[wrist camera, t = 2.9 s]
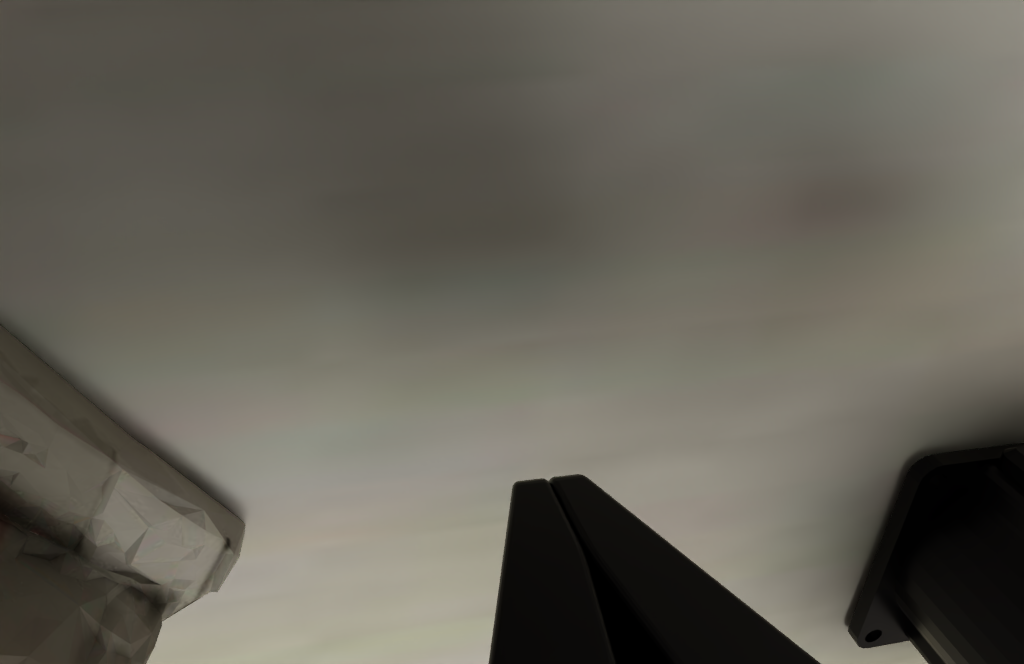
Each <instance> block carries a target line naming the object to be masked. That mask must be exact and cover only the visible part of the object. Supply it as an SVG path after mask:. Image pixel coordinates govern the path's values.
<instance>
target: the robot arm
mask: <svg viewBox="0 0 1024 664" xmlns="http://www.w3.org/2000/svg"><path fill="white" fill-rule="evenodd" d="M848 632H849V634H850V635H851V636H852V638H853V639H854V641H855V642H856V643H857V645H858V646H859V647H861V648H871V647H876V646H882V645H887V644H893V643H898V642H903V641H909V640H910V641H911V642H912V644H913V645H914V646H915V647H916V649H917V650H918V651H919V652H920V654H921V655H922V656H923V657H924V659H925V660H926V661H927V662H928V664H1024V443H1019V444H1011V445H1003V446H995V447H988V448H980V449H972V450H964V451H956V452H948V453H940V454H933V455H929V456H925V457H923V458H922V459H920V460H918V461H917V462H916V463H915V464H914V465H913V466H912V467H911V468H910V470H909V472H908V474H907V476H906V479H905V482H904V484H903V487H902V489H901V492H900V495H899V497H898V500H897V502H896V505H895V508H894V510H893V513H892V515H891V518H890V521H889V523H888V526H887V528H886V531H885V534H884V536H883V539H882V541H881V544H880V547H879V549H878V552H877V554H876V557H875V560H874V562H873V565H872V567H871V570H870V573H869V575H868V578H867V580H866V583H865V586H864V588H863V591H862V593H861V596H860V599H859V601H858V604H857V606H856V609H855V612H854V614H853V617H852V619H851V622H850V625H849V628H848ZM489 664H820V663H819V662H818V661H817V660H815V659H814V658H813V657H812V656H810V655H809V654H808V653H807V652H805V651H804V650H803V649H802V648H800V647H799V646H798V645H797V644H795V643H794V642H793V641H792V640H790V639H789V638H788V637H787V636H785V635H784V634H783V633H782V632H780V631H779V630H778V629H777V628H775V627H774V626H773V625H771V624H770V623H769V622H768V621H766V620H765V619H764V618H763V617H761V616H760V615H759V614H758V613H756V612H755V611H754V610H753V609H751V608H750V607H749V606H748V605H746V604H745V603H744V602H743V601H741V600H740V599H739V598H738V597H736V596H735V595H734V594H733V593H731V592H730V591H729V590H728V589H726V588H725V587H724V586H723V585H721V584H720V583H719V582H718V581H716V580H715V579H714V578H713V577H711V576H710V575H709V574H708V573H706V572H705V571H704V570H703V569H701V568H700V567H699V566H697V565H696V564H695V563H694V562H692V561H691V560H690V559H689V558H687V557H686V556H685V555H684V554H682V553H681V552H680V551H679V550H677V549H676V548H675V547H674V546H672V545H671V544H670V543H669V542H667V541H666V540H665V539H664V538H662V537H661V536H660V535H659V534H657V533H656V532H655V531H654V530H652V529H651V528H650V527H649V526H647V525H646V524H645V523H644V522H642V521H641V520H640V519H639V518H637V517H636V516H635V515H634V514H632V513H631V512H630V511H629V510H627V509H626V508H625V507H623V506H622V505H621V504H620V503H618V502H617V501H616V500H615V499H613V498H612V497H611V496H610V495H608V494H607V493H606V492H605V491H603V490H602V489H601V488H600V487H598V486H597V485H596V484H595V483H593V482H592V481H591V480H590V479H588V478H587V477H586V476H583V475H580V474H576V475H567V476H559V477H553V478H551V479H550V480H549V482H548V481H547V480H545V479H533V480H525V481H518V482H516V483H514V485H513V488H512V495H511V502H510V510H509V517H508V525H507V532H506V539H505V547H504V554H503V562H502V569H501V576H500V584H499V591H498V599H497V606H496V613H495V621H494V628H493V636H492V643H491V650H490V658H489Z"/></svg>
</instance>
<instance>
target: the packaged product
mask: <svg viewBox="0 0 1024 664" xmlns="http://www.w3.org/2000/svg"><path fill="white" fill-rule="evenodd" d="M244 532H245V524H244V523H243V522H242V521H241V520H240V519H239V518H238V517H237V516H235V515H234V514H233V513H231V512H230V511H229V510H227V509H226V508H225V507H224V506H222V505H221V504H220V503H218V502H217V501H216V500H214V499H213V498H212V497H211V496H209V495H208V494H207V493H205V492H204V491H203V490H201V489H200V488H199V487H197V486H196V485H195V484H194V483H192V482H191V481H190V480H188V479H187V478H186V477H184V476H183V475H182V474H181V473H179V472H178V471H177V470H175V469H174V468H173V467H171V466H170V465H169V464H168V463H166V462H165V461H164V460H162V459H161V458H160V457H158V456H157V455H156V454H155V453H153V452H152V451H151V450H149V449H148V448H146V447H145V446H143V445H142V444H140V443H139V442H138V441H136V440H135V439H133V438H132V437H131V436H130V435H129V434H128V433H126V432H125V431H124V430H123V429H122V428H120V427H119V426H118V425H117V424H116V423H115V422H113V421H112V420H111V419H110V418H109V417H108V416H106V415H105V414H104V413H103V412H102V411H101V410H99V409H98V408H97V407H96V406H95V405H94V404H92V403H91V402H90V401H89V400H88V399H87V398H85V397H84V396H83V395H82V394H81V393H79V392H78V391H77V390H76V389H75V388H74V387H72V386H71V385H70V384H69V383H68V382H67V381H65V380H64V379H63V378H62V377H61V376H60V375H58V374H57V373H56V372H55V371H54V370H53V369H51V368H50V367H49V366H48V365H47V364H46V363H44V362H43V361H42V360H41V359H40V358H38V357H37V356H36V355H35V354H34V353H33V352H31V351H30V350H29V349H28V348H27V347H26V346H24V345H23V344H22V343H21V342H20V341H19V340H17V339H16V338H15V337H14V336H13V335H12V334H10V333H9V332H8V331H7V330H6V329H5V328H3V327H2V326H1V325H0V664H146V663H147V661H148V659H149V657H150V655H151V653H152V651H153V649H154V647H155V644H156V641H157V638H158V635H159V632H160V629H161V626H162V621H164V620H165V619H167V618H168V617H170V616H172V615H173V614H175V613H177V612H178V611H180V610H181V609H183V608H185V607H186V606H188V605H189V604H191V603H193V602H194V601H196V600H198V599H199V598H201V597H202V596H204V595H206V594H207V593H209V592H218V590H219V589H220V587H221V585H222V584H223V582H224V581H225V579H226V577H227V576H228V574H229V573H230V571H231V569H232V568H233V566H234V565H235V563H236V562H237V560H238V558H239V556H240V552H241V547H242V542H243V537H244Z"/></svg>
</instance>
